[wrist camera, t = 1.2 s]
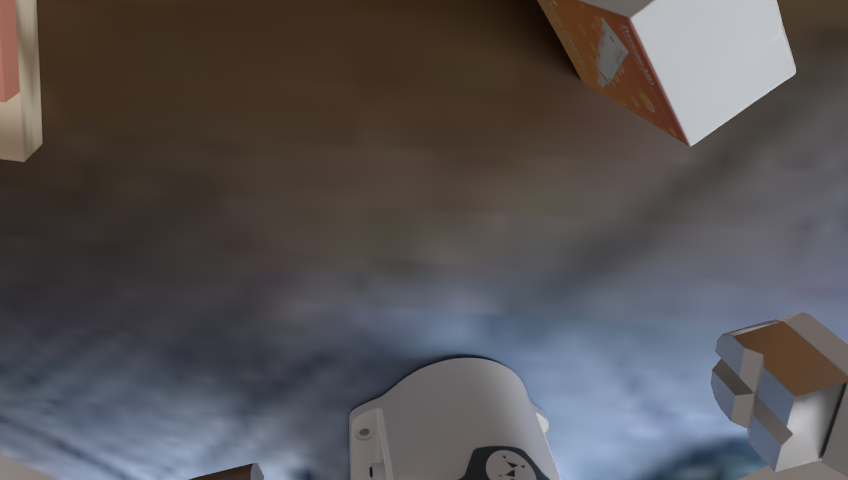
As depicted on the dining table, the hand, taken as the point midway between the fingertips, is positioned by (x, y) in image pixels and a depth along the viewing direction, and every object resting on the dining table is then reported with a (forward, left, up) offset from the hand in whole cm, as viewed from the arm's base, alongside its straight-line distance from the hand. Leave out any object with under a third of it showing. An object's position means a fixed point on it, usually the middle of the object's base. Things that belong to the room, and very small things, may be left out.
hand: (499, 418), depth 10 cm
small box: (+6, -15, -31) cm, 35 cm away
